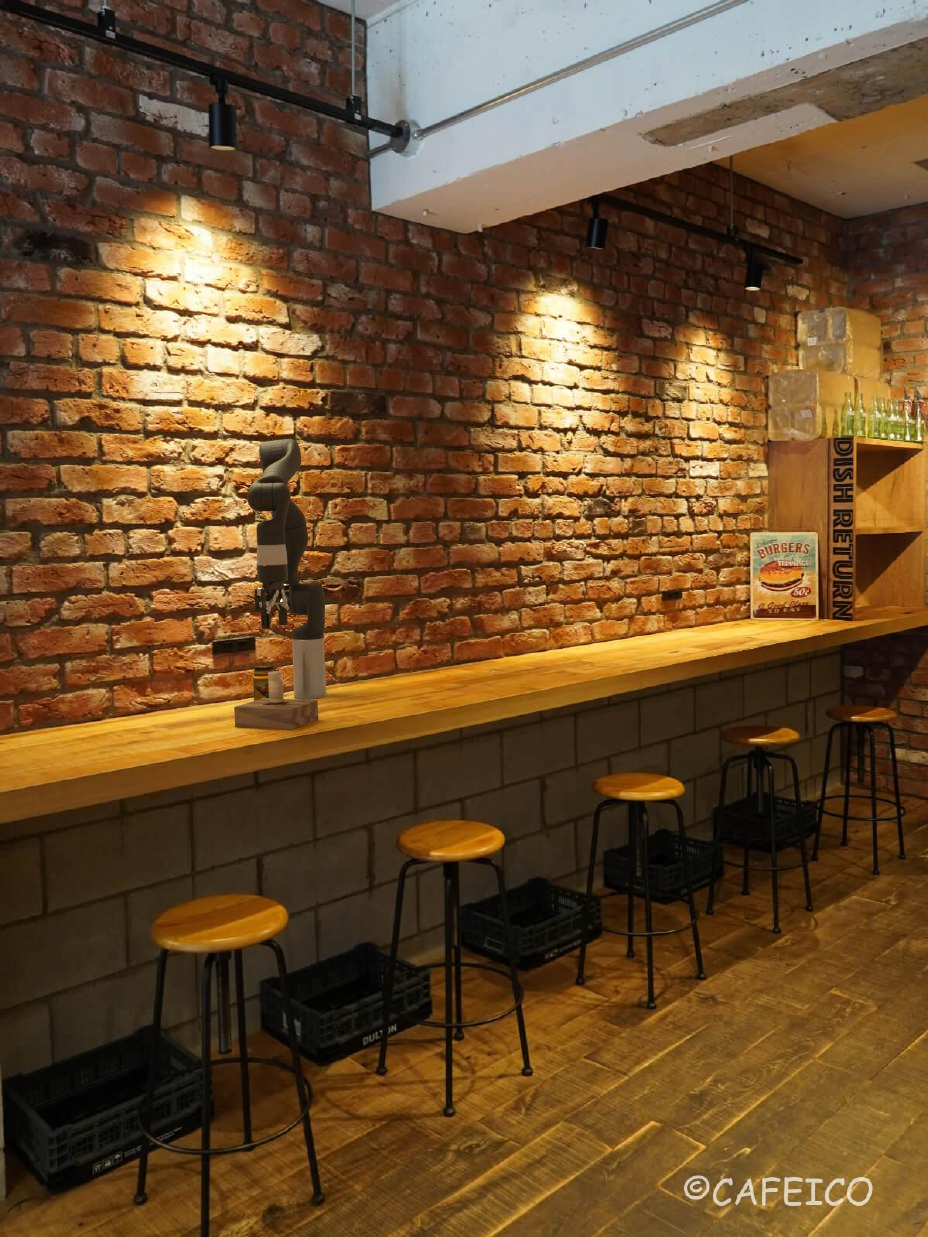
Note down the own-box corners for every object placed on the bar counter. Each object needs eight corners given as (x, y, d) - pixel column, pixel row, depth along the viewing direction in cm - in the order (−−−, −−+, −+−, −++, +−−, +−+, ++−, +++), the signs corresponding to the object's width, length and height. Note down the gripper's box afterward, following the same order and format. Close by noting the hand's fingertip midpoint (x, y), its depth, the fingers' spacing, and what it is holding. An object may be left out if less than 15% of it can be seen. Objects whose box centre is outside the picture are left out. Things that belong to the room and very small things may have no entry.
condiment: (266, 712, 282) (264, 668, 281) (242, 710, 286) (240, 666, 285) (283, 707, 289) (282, 664, 288) (260, 705, 293) (258, 663, 292)
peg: (274, 721, 268) (272, 671, 267) (287, 722, 267) (285, 671, 266) (267, 724, 264) (265, 673, 263) (279, 724, 263) (277, 673, 262)
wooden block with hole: (264, 716, 275) (263, 698, 274) (318, 719, 269) (317, 700, 269) (235, 726, 262) (234, 707, 261) (291, 729, 256) (290, 709, 256)
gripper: (273, 561, 271) (276, 623, 273) (243, 564, 258) (246, 629, 259) (299, 561, 268) (301, 624, 270) (270, 564, 255) (273, 630, 257)
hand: (274, 626), depth 265 cm, fingers open, 8 cm apart
